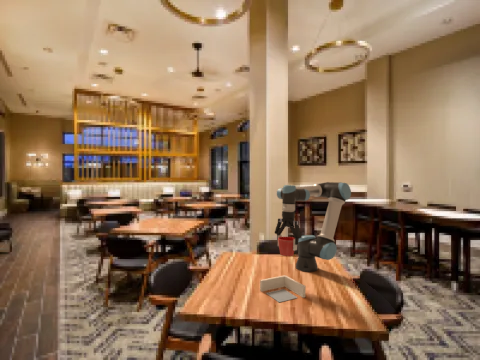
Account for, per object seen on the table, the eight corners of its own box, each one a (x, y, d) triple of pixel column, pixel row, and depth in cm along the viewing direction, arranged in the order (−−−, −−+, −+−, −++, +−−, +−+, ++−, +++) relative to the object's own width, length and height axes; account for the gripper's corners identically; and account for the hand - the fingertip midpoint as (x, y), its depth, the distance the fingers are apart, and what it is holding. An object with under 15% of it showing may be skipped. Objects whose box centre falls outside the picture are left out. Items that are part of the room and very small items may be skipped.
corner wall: (285, 285, 156) (285, 275, 156) (305, 297, 140) (305, 285, 140) (260, 290, 147) (260, 280, 147) (278, 303, 132) (278, 292, 132)
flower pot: (290, 258, 148) (290, 241, 148) (274, 254, 156) (274, 238, 156) (299, 255, 156) (300, 238, 156) (283, 251, 164) (284, 235, 164)
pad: (283, 289, 150) (283, 288, 150) (297, 298, 139) (297, 297, 139) (265, 293, 144) (265, 292, 144) (279, 302, 133) (279, 302, 133)
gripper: (269, 209, 162) (268, 244, 162) (301, 213, 145) (299, 253, 145) (277, 208, 167) (276, 243, 167) (308, 212, 150) (307, 251, 150)
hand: (287, 248), depth 156 cm, fingers closed on flower pot, 11 cm apart
